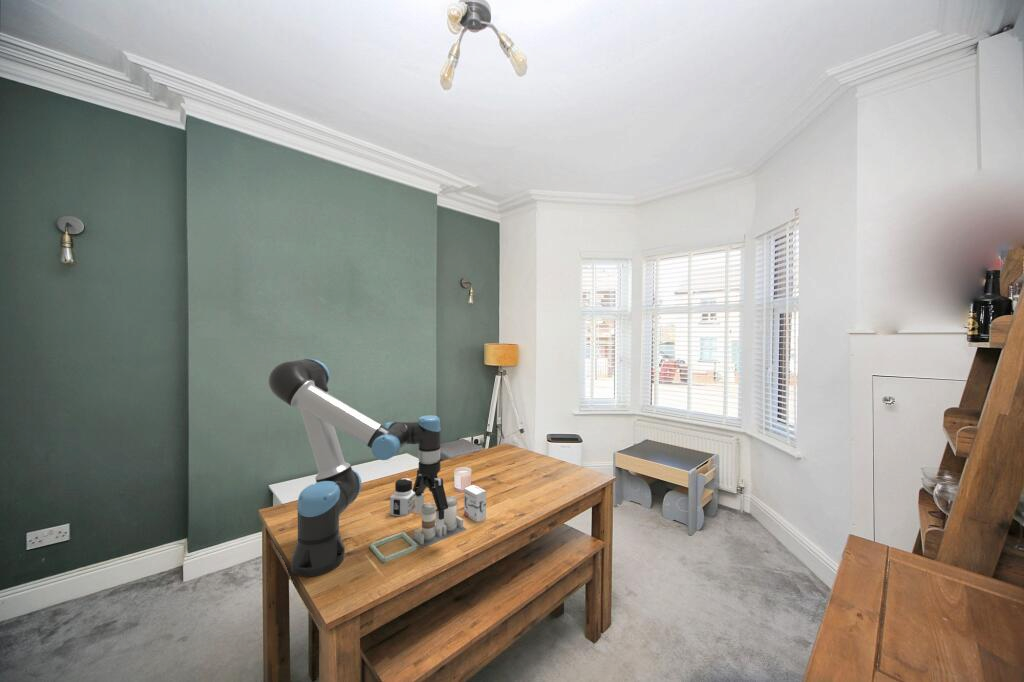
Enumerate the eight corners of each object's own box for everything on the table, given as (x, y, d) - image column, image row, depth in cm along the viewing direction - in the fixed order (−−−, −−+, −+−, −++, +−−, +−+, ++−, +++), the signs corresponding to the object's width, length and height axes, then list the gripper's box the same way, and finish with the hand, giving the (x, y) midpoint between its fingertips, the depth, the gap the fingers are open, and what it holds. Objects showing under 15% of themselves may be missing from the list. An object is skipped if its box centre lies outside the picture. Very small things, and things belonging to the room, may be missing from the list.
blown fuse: (425, 542, 127) (426, 511, 127) (418, 536, 131) (419, 506, 130) (437, 537, 130) (438, 506, 130) (430, 532, 134) (431, 502, 134)
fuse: (447, 533, 133) (448, 503, 133) (440, 528, 137) (441, 498, 137) (459, 528, 136) (459, 499, 136) (451, 523, 140) (452, 495, 140)
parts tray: (383, 566, 116) (383, 559, 115) (369, 550, 124) (369, 544, 124) (418, 551, 124) (418, 545, 124) (403, 537, 132) (403, 531, 132)
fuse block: (423, 550, 124) (423, 538, 124) (410, 539, 131) (410, 528, 131) (467, 532, 136) (467, 521, 136) (453, 522, 143) (453, 512, 143)
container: (407, 517, 146) (408, 485, 146) (389, 515, 147) (390, 483, 147) (416, 508, 153) (416, 477, 153) (399, 506, 155) (399, 475, 155)
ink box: (463, 516, 147) (463, 487, 147) (472, 512, 151) (473, 483, 151) (476, 525, 141) (477, 494, 141) (486, 520, 145) (487, 490, 145)
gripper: (458, 467, 123) (458, 530, 124) (421, 449, 142) (421, 504, 142) (438, 473, 118) (438, 538, 119) (403, 454, 137) (403, 510, 137)
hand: (429, 520), depth 130 cm, fingers open, 13 cm apart
